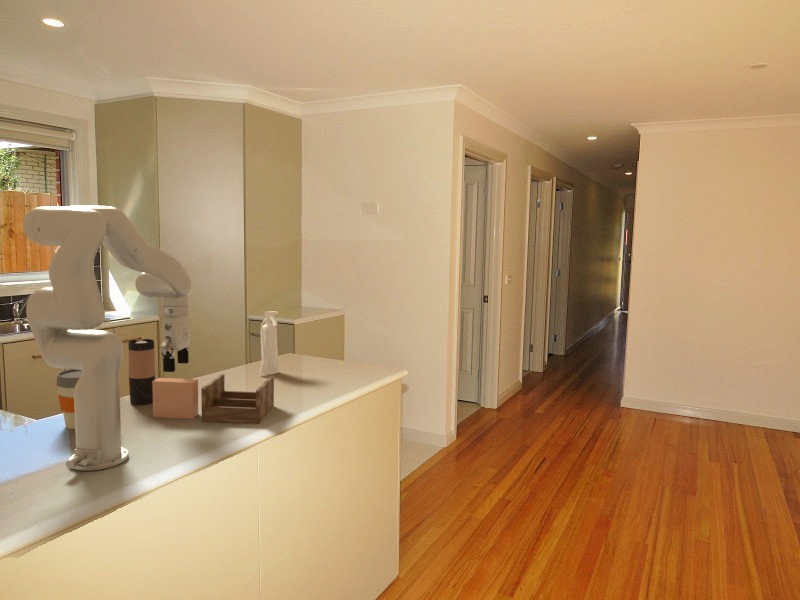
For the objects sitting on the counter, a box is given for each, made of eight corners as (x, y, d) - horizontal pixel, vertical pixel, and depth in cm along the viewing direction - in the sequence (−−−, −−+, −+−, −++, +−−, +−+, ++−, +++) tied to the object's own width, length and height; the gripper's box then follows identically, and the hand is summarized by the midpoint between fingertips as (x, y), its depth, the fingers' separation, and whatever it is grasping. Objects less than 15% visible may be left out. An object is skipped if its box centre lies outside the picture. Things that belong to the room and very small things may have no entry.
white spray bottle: (251, 375, 214) (251, 312, 211) (270, 369, 225) (270, 309, 222) (265, 377, 212) (266, 314, 209) (284, 371, 223) (284, 310, 220)
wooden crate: (259, 423, 160) (259, 390, 159) (201, 421, 160) (201, 388, 159) (273, 406, 177) (273, 375, 176) (221, 404, 177) (221, 374, 176)
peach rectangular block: (193, 418, 163) (192, 382, 162) (153, 417, 163) (152, 381, 162) (198, 414, 167) (197, 379, 166) (159, 413, 167) (158, 377, 166)
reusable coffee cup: (119, 420, 159) (117, 369, 158) (83, 434, 147) (81, 380, 146) (84, 414, 163) (83, 365, 161) (46, 428, 151) (44, 375, 149)
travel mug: (145, 406, 172) (144, 344, 170) (124, 404, 174) (122, 342, 172) (160, 399, 180) (159, 339, 178) (139, 397, 181) (138, 338, 179)
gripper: (175, 316, 153) (176, 375, 155) (198, 306, 170) (199, 360, 172) (148, 315, 153) (150, 374, 155) (174, 306, 170) (176, 359, 172)
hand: (176, 367), depth 164 cm, fingers open, 9 cm apart
